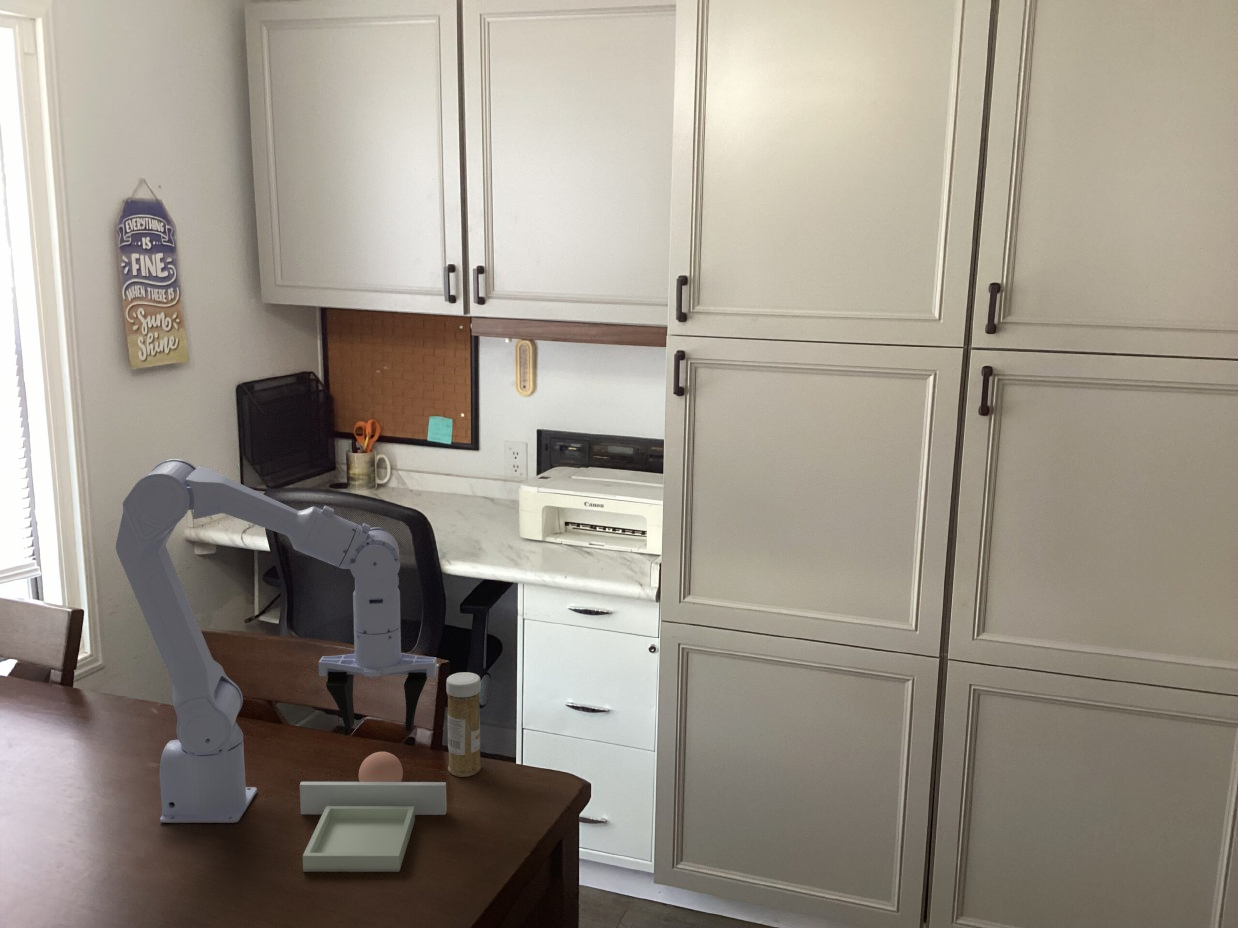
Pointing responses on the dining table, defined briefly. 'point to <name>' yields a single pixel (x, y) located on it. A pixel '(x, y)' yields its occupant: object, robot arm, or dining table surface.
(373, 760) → the ball
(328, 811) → the tray
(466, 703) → the spice bottle
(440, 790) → the acrylic wall
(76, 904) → the dining table surface
